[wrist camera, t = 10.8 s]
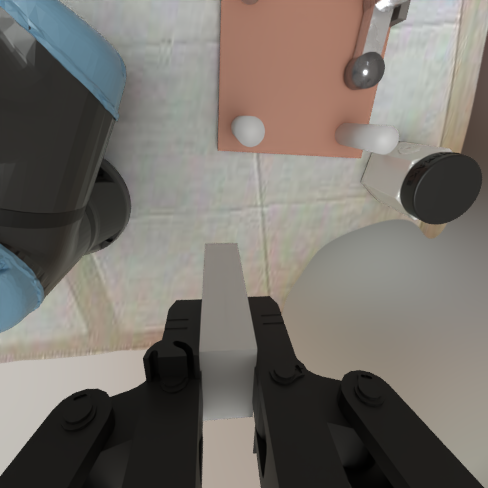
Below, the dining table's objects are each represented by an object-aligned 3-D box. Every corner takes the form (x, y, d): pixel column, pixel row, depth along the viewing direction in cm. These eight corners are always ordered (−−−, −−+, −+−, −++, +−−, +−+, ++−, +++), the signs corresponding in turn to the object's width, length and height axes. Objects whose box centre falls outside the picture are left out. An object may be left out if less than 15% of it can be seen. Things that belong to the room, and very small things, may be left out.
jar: (416, 134, 41) (489, 142, 30) (418, 187, 44) (484, 211, 33) (356, 155, 41) (407, 169, 30) (363, 205, 45) (411, 235, 34)
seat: (217, 148, 39) (218, 162, 28) (222, -43, 31) (226, -129, 20) (354, 156, 41) (404, 171, 30) (392, -21, 33) (480, -87, 22)
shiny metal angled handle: (367, 92, 36) (418, 84, 27) (340, 87, 35) (383, 78, 26) (394, -12, 31) (467, -62, 22) (365, -18, 31) (426, -73, 22)
